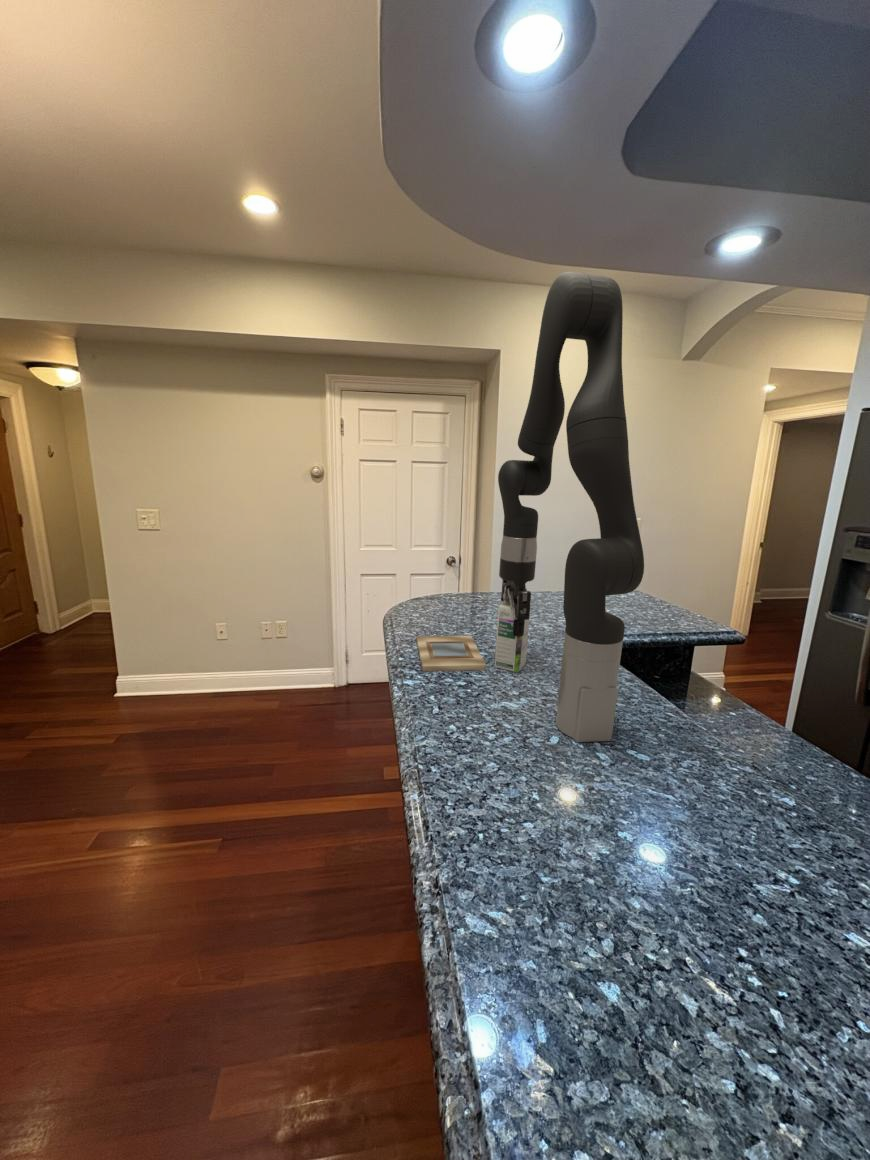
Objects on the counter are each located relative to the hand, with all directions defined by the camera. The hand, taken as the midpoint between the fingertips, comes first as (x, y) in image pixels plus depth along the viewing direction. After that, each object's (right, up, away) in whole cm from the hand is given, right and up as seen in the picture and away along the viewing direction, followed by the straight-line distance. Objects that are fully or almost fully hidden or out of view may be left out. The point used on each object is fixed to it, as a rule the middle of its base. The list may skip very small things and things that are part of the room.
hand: (512, 629), depth 106 cm
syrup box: (0, -9, +2) cm, 9 cm away
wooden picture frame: (-14, -7, +7) cm, 17 cm away
